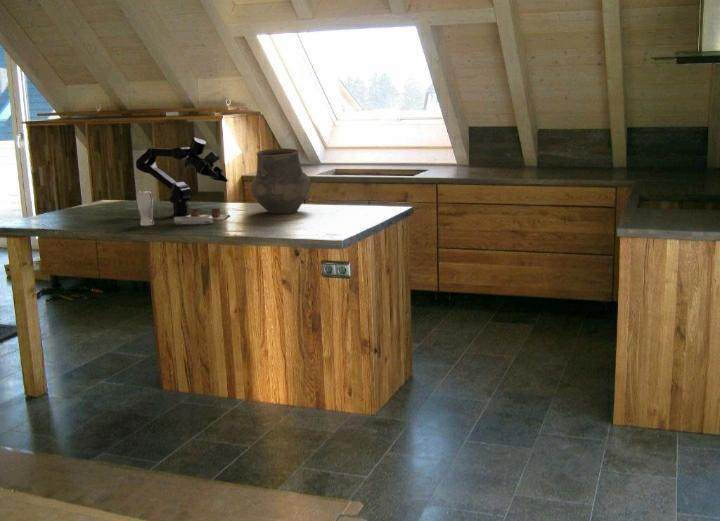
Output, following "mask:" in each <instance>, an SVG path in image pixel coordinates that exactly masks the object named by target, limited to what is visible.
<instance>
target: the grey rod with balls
mask: <svg viewBox="0 0 720 521" xmlns="http://www.w3.org/2000/svg"><path fill="white" fill-rule="evenodd" d="M173 220H174V225H214V221H213V217H212V216H208V217H186V216H174V218H173Z"/></svg>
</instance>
